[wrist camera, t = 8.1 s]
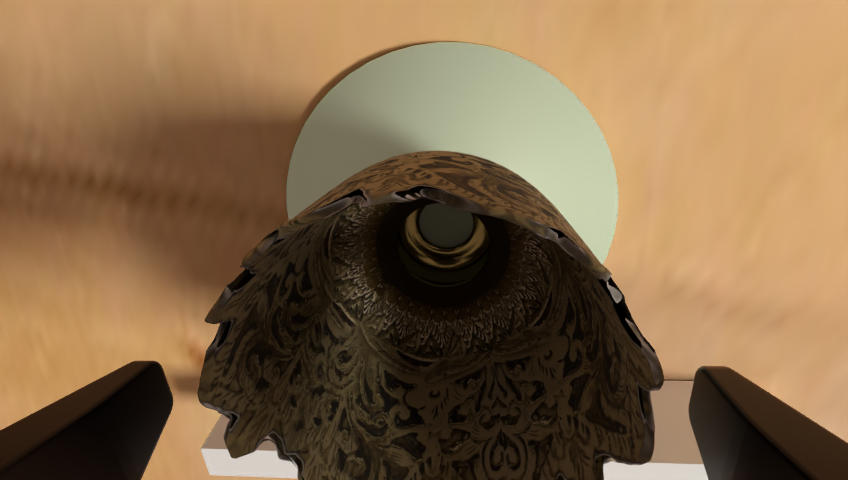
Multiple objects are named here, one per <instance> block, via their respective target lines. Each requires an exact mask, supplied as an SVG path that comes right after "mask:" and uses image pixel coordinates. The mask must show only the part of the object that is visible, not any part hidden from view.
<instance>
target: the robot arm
mask: <svg viewBox="0 0 848 480" xmlns="http://www.w3.org/2000/svg"><path fill="white" fill-rule="evenodd" d="M172 406H173V396H172V393H171V390H170V387H169V384H168V382H167V379H166V376H165V373H164V371H163V368H162V366H161V365H160V364H159V363H158V362H156V361H133V362H131V363H129V364H127V365H125V366H123V367H121V368H119V369H117V370H115V371H113V372H111V373H110V374H108V375H106V376H104V377H102V378H100V379H98V380H96V381H94V382H92V383H90V384H88V385H87V386H85V387H83V388H81V389H79V390H77V391H75V392H73V393H71V394H69V395H67V396H65V397H64V398H62V399H60V400H58V401H56V402H54V403H52V404H50V405H48V406H46V407H44V408H42V409H41V410H39V411H37V412H35V413H33V414H31V415H29V416H27V417H25V418H23V419H21V420H19V421H18V422H16V423H14V424H12V425H10V426H8V427H6V428H4V429H2V430H0V480H141V478H142V476H143V474H144V472H145V469H146V467H147V465H148V463H149V460H150V458H151V456H152V454H153V451H154V449H155V447H156V445H157V442H158V440H159V438H160V435H161V433H162V431H163V429H164V426H165V424H166V422H167V420H168V417H169V415H170V413H171V410H172ZM688 412H689V420H690V423H691V427H692V430H693V433H694V436H695V439H696V442H697V445H698V449H699V452H700V455H701V458H702V461H703V464H704V467H705V470H706V474H707V477H708V480H848V443H847V442H845V441H844V440H842V439H841V438H839V437H838V436H836V435H834V434H833V433H831V432H830V431H828V430H827V429H825V428H823V427H822V426H820V425H819V424H817V423H816V422H814V421H812V420H811V419H809V418H808V417H806V416H805V415H803V414H801V413H800V412H798V411H797V410H795V409H794V408H792V407H790V406H789V405H787V404H786V403H784V402H783V401H781V400H780V399H778V398H776V397H775V396H773V395H772V394H770V393H769V392H767V391H765V390H764V389H762V388H761V387H759V386H758V385H756V384H754V383H753V382H751V381H750V380H748V379H747V378H745V377H743V376H742V375H740V374H739V373H737V372H736V371H734V370H732V369H731V368H729V367H725V366H702V367H700V368H698V370H697V371H696V374H695V378H694V383H693V387H692V392H691V397H690V402H689V408H688Z"/></svg>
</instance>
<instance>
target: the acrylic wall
mask: <svg viewBox="0 0 848 480" xmlns="http://www.w3.org/2000/svg"><path fill="white" fill-rule="evenodd" d="M693 383H694V381H664V383H663V385H662V387H661V389H660V390H657V391H650V396H651V402H652V408H653V415H654V424H655V435H654V438H655V444H654V451H653V455H652V458H651V461H649V462H648V463H645V464H643V465H627V464H624V463H617V462H615V460H613V459H612V458H610V459H607V460H612V461H610V462H609V463H606V464H604V466H603V473H604V480H708V477H707V474H706V470H705V467H704V464H703V461H702V458H701V455H700V452H699V449H698V445H697V442H696V439H695V436H694V433H693V430H692V427H691V423H690V420H689V412H688V408H689V402H690V397H691V392H692V387H693ZM229 420H230V419H228V418H227V417H225V416H224V415H223V414H222V415H221V417H220V418H219V420H218V421H217V423H216V425H215V426H214V428H213V429H212V431H211V433H210V434H209V436H208V438H207V439H206V441H205V442H204V444H203V446H202V447H201V451H202V454H203V457H204V460H205V463H206V465H207V468H208V471H209V474H210V475H221V476H248V477H274V478H297V474H298V469H297V468H298V467H297V465H296V464H295V463H294V464H295V465H296V466H295V465H294V464H293V463H292V462H290V461H285V460H280V459H279V458H278V455H277V448H276V445H275V444H274V443H273V442H271V441H270V440H268V441H264V442H263V443H262V444H260V445H259V447H258V448H257V450H256V451H255V452H253V453H250V454H247V455H245V456H242V457H239V458H237V459H234V458H231V456H230V454H229V452H228V449H227V447H226V444H225V441H224V433H225V430H226V427H227V424H228V422H229ZM266 438H268V439H271V438H270V437H269V436H267V437H266ZM264 439H265V438H264ZM271 440H272V439H271ZM272 441H273V440H272ZM291 460H292V459H291Z"/></svg>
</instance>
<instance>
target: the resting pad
mask: <svg viewBox="0 0 848 480" xmlns="http://www.w3.org/2000/svg"><path fill="white" fill-rule="evenodd" d="M420 151H452V152H460V153H465V154H470V155H474V156H478V157H481V158H484V159H487V160H490V161H492V162H495V163H497V164H499V165H502V166H504V167H506V168H507V169H509V170H511V171H513V172H514V173H516V174H518V175H519V176H521V177H522V178H523V179H525V180H526V181H527V182H529V183H530V184H531V185H533V186H534V187H535V188H536V189H538V190H539V191H540V192H541V193H542V194H543V195H544V196H545V197H546V198H547V199H548V200H549V201H550V202H551V203H552V204H553V205H554V206H555V207H556V208H557V209H558V210H559V212H560V213H561V214H562V215H563V216H564V218H565V219H566V220H567V221H568V223H569V224H570V225H571V226H572V227H573V229H574V230H575V231H576V232H577V233H578V235H579V236H580V237H581V238H582V240H583V241H584V242H585V243H586V245H587V246H588V247H589V249H590V250H591V251H592V252H593V254H594V255H595V256H596V258H597V259H598V260H599V262H600V263H601V264H602V265H603V263H604V261H605V259H606V257H607V255H608V252H609V249H610V246H611V243H612V240H613V237H614V233H615V227H616V221H617V216H618V186H617V177H616V171H615V167H614V163H613V160H612V156H611V152H610V150H609V147H608V145H607V143H606V140H605V138H604V136H603V134H602V131H601V129H600V128H599V126H598V125H597V123H596V122H595V120H594V118H593V117H592V115H591V114H590V112H589V111H588V109H587V108H586V107H585V106H584V105H583V104H582V102H581V101H580V100H579V99H578V98H577V97H576V95H575V94H574V93H573V92H572V91H571V90H570V89H568V88H567V87H566V86H565V85H564V84H563V83H562V82H560V81H559V80H558V79H557V78H556V77H555V76H553V75H552V74H550V73H549V72H547V71H546V70H544V69H543V68H541V67H539V66H538V65H536V64H535V63H533V62H531V61H529V60H527V59H524V58H522V57H520V56H518V55H516V54H513V53H511V52H508V51H504V50H501V49H498V48H494V47H491V46H487V45H481V44H474V43H467V42H434V43H427V44H419V45H413V46H410V47H406V48H403V49H399V50H396V51H392V52H390V53H387V54H385V55H383V56H381V57H378V58H376V59H374V60H372V61H370V62H368V63H366V64H365V65H363V66H361V67H360V68H358V69H357V70H355V71H353V72H352V73H350V74H349V75H347V76H346V77H345V78H344V79H343V80H341V81H340V82H339V83H338V84H337V85H336V86H334V87H333V88H332V89H331V90H330V91H329V92H328V93H327V94H326V96H325V97H324V98H323V99H322V100H321V101H320V102H319V104H318V105H317V106H316V107H315V109H314V110H313V112H312V113H311V115H310V116H309V118H308V119H307V121H306V122H305V124H304V126H303V128H302V130H301V132H300V135H299V137H298V139H297V141H296V143H295V146H294V150H293V153H292V157H291V160H290V163H289V170H288V177H287V183H286V205H287V212H288V220H291V219H293V218H294V217H295V216H297V215H298V214H299V213H300V212H302V211H303V210H304V209H306V208H307V207H308V206H310V205H311V204H312V203H314V202H315V201H317V200H318V199H319V198H321V197H322V196H323V195H325V194H326V193H328V192H329V191H330V190H332V189H333V188H335V187H336V186H337V185H339V184H340V183H342V182H343V181H345V180H346V179H348V178H349V177H351V176H353V175H354V174H356V173H358V172H360V171H362V170H363V169H365V168H367V167H369V166H371V165H374V164H376V163H378V162H381V161H384V160H386V159H389V158H391V157H395V156H399V155H403V154H407V153H414V152H420ZM419 225H420V229H421V232H422V234H423V236H424V237H425V238H426V239H427V240H428V241H429V242H431V243H432V244H434V245H436V246H440V247H454V246H457V245H460V244H461V243H463V242H464V241H465V240H466V239H467V238H468V237H469V236H470V234H471V232H472V229H473V218H472V215H471V212H468V211H464V210H461V209H457V208H454V207H450V206H446V205H445V204H443V203H436V204H430V205H427V206H426V207H425V208H424V209H423V211H422V213H421V215H420V220H419Z"/></svg>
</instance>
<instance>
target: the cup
mask: <svg viewBox="0 0 848 480" xmlns="http://www.w3.org/2000/svg"><path fill="white" fill-rule="evenodd" d="M436 203H443V204H445V205H446V206H450V207H454V208H457V209H461V210H464V211H468V212H471V215H472V218H473V229H472V232H471V234H470V236H469V237H468V238H467V239H466V240H465V241H464V242H463V243H461V244H460V245H457V246H454V247H440V246H436V245H434V244H432V243H431V242H429V241H428V240H427V239H426V238H425V237H424V236H423V234H422V232H421V229H420V225H419V220H420V215H421V213H422V211H423V209H424V208H425V207H426V206H427V205H430V204H436ZM240 267H244V268H245V270H244V271H243V272H242V273H241V274H240V275H239V276H238V277H237V278H236V279H235V280H234V281H233V282H232V283H230V284H229V285H227V286H226V288H225V289H224V291H223V293H222V294H221V296H220V297H219V299H218V300H217V302H216V303H215V304H214V306H213V307H212V309H211V310H210V312H209V313H208V315H207V316H206V318H205V321H206V322H207V323H211V324H217V323H220V326H219V329H218V332H217V334H216V336H215V338H214V340H213V342H212V343H211V345H210V346H209V347H208V349H207V351H206V355H205V359H204V364H203V368H202V372H201V378H200V384H199V389H198V398H199V401H200V403H201V404H202V405H203V406H205V407H206V408H210V409H213V410H216V411H218V413H220V414H223V415H224V416H225V417H227V418H228V419H230V420H229V422H228V424H227V427H226V430H225V433H224V441H225V444H226V447H227V449H228V452H229V454H230V456H231V458H234V459H237V458H239V457H242V456H245V455H247V454H250V453H253V452H255V451H256V450H257V448H258V447H259V445H260V444H262V443H263V442H264V441H268V440H270V441H271V442H273V443H274V444H275V445H276V448H277V455H278V458H279V459H280V460H285V461H290V462H292V463H293V464H294V463H295V464H296V465H297V467H298V468H297V469H298V474H297V478H298V479H299V480H604V473H603V466H604V464H606V463H609V462H610V461H612V460H607V459H610V458H612V459H613V460H615V462H617V463H624V464H627V465H643V464H645V463H648V462H649V461H651V458H652V455H653V451H654V444H655V438H654V435H655V424H654V415H653V408H652V402H651V396H650V391H657V390H660V389H661V387H662V385H663V383H664V375H663V371H662V367H661V364H660V362H659V360H658V357H657V355H656V353H655V350H654V349H653V347H652V346H651V345H650V343H649V342H648V341H647V340H646V339H645V338H644V337H643V335H642V334H641V332H640V331H639V329H638V327H637V326H636V324H635V322H634V320H633V319H632V316H631V314H630V311H629V309H628V307H627V305H626V303H625V297H624V295H623V294H622V292H621V291H620V289H619V288H618V287H617V285H616V284H615V282H614V281H613V280H612V278H611V275H612V274H611V273H610V271H609V270H608V269H607V268H605V267H604V266H603V265H602V264H601V263H600V262H599V260H598V259H597V258H596V256H595V255H594V254H593V252H592V251H591V250H590V249H589V247H588V246H587V245H586V243H585V242H584V241H583V240H582V238H581V237H580V236H579V235H578V233H577V232H576V231H575V230H574V229H573V227H572V226H571V225H570V224H569V223H568V221H567V220H566V219H565V218H564V216H563V215H562V214H561V213H560V212H559V210H558V209H557V208H556V207H555V206H554V205H553V204H552V203H551V202H550V201H549V200H548V199H547V198H546V197H545V196H544V195H543V194H542V193H541V192H540V191H539V190H538V189H536V188H535V187H534V186H533V185H531V184H530V183H529V182H527V181H526V180H525V179H523V178H522V177H521V176H519V175H518V174H516V173H514V172H513V171H511V170H509V169H507V168H506V167H504V166H502V165H499V164H497V163H495V162H492V161H490V160H487V159H484V158H481V157H478V156H474V155H470V154H465V153H460V152H452V151H420V152H414V153H407V154H403V155H399V156H395V157H391V158H389V159H386V160H384V161H381V162H378V163H376V164H374V165H371V166H369V167H367V168H365V169H363V170H362V171H360V172H358V173H356V174H354V175H353V176H351V177H349V178H348V179H346V180H345V181H343V182H342V183H340V184H339V185H337V186H336V187H335V188H333V189H332V190H330V191H329V192H328V193H326V194H325V195H323V196H322V197H321V198H319V199H318V200H317V201H315V202H314V203H312V204H311V205H310V206H308V207H307V208H306V209H304V210H303V211H302V212H300V213H299V214H298V215H297V216H295V217H294V218H293V219H291V220H289V221H287V222H285V223H283V224H281V225H280V226H278V227H277V228H275V231H273V232H272V233H270V234H269V235H267V236H266V237H265V238H264V239H263V240H262V241H261V242H260V243H259V244H258V245H257V246H256V247H255V248H254V249H253V250H251V251H250V252H249V253H248V254H247V255H246V256H245V258H244V259H243V262H242V265H241V266H240ZM267 436H269V437H270V438H271V439H272V440H273V441H272V440H271V439H268V438H266V437H267ZM264 438H265V439H264ZM291 459H292V460H291ZM295 464H294V465H295ZM296 465H295V466H296Z"/></svg>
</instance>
